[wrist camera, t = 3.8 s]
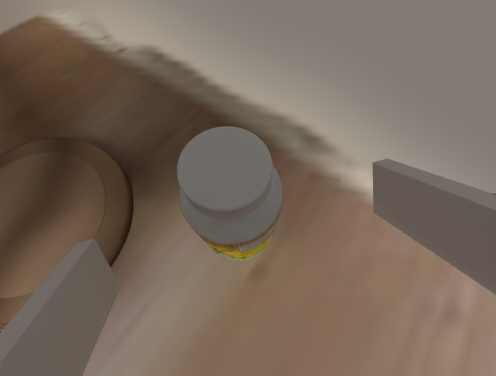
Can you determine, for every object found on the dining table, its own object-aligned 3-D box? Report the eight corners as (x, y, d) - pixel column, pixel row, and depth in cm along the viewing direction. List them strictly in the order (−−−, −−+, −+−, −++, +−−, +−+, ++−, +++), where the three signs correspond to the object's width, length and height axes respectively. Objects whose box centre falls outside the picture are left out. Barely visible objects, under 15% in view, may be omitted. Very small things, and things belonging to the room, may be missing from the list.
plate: (-90, 324, 17) (-118, 326, 15) (-9, 147, 22) (-25, 139, 21) (114, 320, 16) (103, 322, 15) (145, 143, 22) (138, 134, 21)
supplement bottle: (287, 235, 18) (318, 182, 10) (226, 276, 17) (198, 259, 9) (248, 181, 20) (245, 95, 11) (191, 214, 19) (138, 149, 10)
